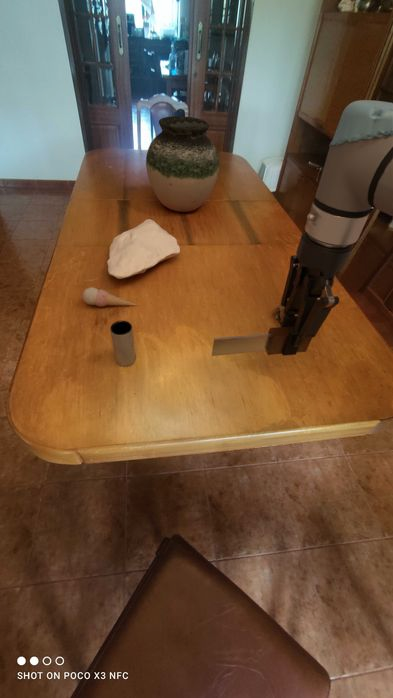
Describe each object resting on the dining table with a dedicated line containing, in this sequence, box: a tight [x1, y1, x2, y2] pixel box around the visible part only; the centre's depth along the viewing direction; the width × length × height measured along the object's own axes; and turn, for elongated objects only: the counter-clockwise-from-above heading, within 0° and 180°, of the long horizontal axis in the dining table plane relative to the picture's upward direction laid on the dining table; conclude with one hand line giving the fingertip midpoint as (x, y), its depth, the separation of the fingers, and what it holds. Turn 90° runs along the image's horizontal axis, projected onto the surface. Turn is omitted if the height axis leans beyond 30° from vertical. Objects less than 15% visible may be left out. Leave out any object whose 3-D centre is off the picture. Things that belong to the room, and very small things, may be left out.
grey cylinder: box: [109, 320, 137, 367], centre depth 71 cm, size 4×4×10 cm
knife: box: [211, 326, 313, 357], centre depth 60 cm, size 19×2×5 cm, turn 100°
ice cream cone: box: [82, 287, 139, 308], centre depth 86 cm, size 5×5×15 cm
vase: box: [145, 115, 220, 213], centre depth 124 cm, size 28×28×30 cm
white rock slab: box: [107, 218, 181, 280], centre depth 101 cm, size 24×35×9 cm
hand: (285, 347), depth 63 cm, fingers closed on knife, 2 cm apart
